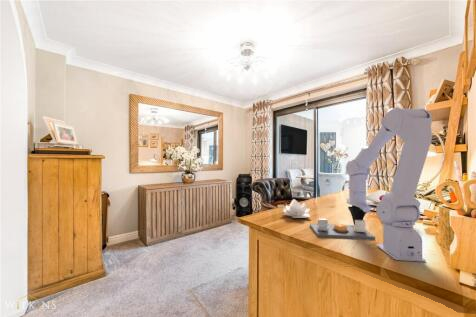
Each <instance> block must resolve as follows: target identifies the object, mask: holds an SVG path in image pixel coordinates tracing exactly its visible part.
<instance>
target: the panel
mask: <svg viewBox="0 0 476 317" xmlns="http://www.w3.org/2000/svg"><path fill="white" fill-rule="evenodd" d="M345 225H346V226H347V232H338V231H335V230H334V224H328V228H329V231H319V230H318V229H317V226H318V223H309V227H310V229H311V230H312V232H313V233H314V234H315V236H316V237H317V238H330V239H331V238H333V239H335V238H336V239H350V240H351V239H352V240H353V239H354V240H357V239H358V240H376V236H375V235H373V234H372V233H370V232H369V231H368V230H367V232H356V231H355V230H354V227H355V225H354V224H352V225H351V224H345Z"/></svg>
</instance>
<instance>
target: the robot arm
mask: <svg viewBox="0 0 476 317" xmlns="http://www.w3.org/2000/svg"><path fill="white" fill-rule="evenodd" d="M380 120H381V121H380V125H381V127H380V128H379V129H378V131H377V132H376V133H375V136H374V138H373V139H372V140H371V142H370V144H368V145H367V146H363V147H362V148H361V150H360V152H358V154H357V155H356V156H355V158H354V159H352V160H349V161H347V163H346V165H345V172H346V174H347V175H348V179H349V180H348V181H349V185H348V186H349V189H348V190H349V191H348V192H349V194H348V198H346V204H348V205H349V206H347V209H348V210H349V213H350V215H351V218H352V222H353V225H355V220H364V218H365V216H366V214H367V213H371V206H369V205H370V202H367V180H368V176H369V174H370V171H371V168H370V167H371V166H372V165H373V164H374V163H375V161H376V160H377V159H378V158H379V157H380V150H382V148H383V147H384V146H386V145H387V144H388V142H389V141H390V140H392V138H393V137H394V136H398V137H399V138H400V139H401V140H402V141H403V145H402V149H401V152H400V156H399V159H398V163H397V167H396V171H395V175H394V178H393V181H392V186H391V189H390V190H389V192H387V193H385V194H386V195H385V194H383V195H384V196H383V197H382V200H380V201H381V202H380V203H379V202H378V204H377V205H376V208H375V210H376V215H377V217H378V220H379V219H380V222H381V223H382V243H381V244H380V243H378V244H376V246H377V247H378V248H379V249H381V250H382V251H383V252H385V253H386V255H388V256H390V257H391V258H392V259H394V260H397V261H406V262H407V261H409V262H410V261H411V262H422V263H424V262H425V263H426V262H427V261H426V258H423V239H422V236H421V234H419V232H418V231H416V230H415V229H414V226H416V222H417V221H419V220H420V217H421V212H420V205H421V202H420V201H419V199H417V198H416V197H415V194H416V191H417V190H418V185H419V182H420V179H421V175H422V172H423V169H424V167H425V166H424V165H425V162H426V160H427V158H428V157H427V156H428V153H429V150H430V146H431V143H432V140H433V132H432V131H433V130H432V123H433V120H434V116H433V115H432V114H431V112H429V111H428V110H427V109H425V108H399V107H392V108H390V109H389V110H387V111H386V112H385V114H384V116H383V117H382V118H381V119H380ZM350 205H351V206H350Z"/></svg>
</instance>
